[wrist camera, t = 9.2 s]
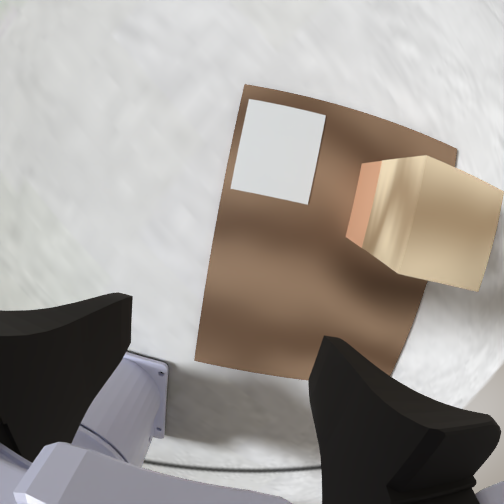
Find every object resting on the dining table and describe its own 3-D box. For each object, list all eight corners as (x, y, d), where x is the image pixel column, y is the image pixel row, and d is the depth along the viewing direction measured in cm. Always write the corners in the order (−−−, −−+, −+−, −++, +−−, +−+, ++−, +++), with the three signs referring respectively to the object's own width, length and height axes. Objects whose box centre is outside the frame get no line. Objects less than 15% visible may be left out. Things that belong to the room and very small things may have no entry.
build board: (383, 384, 23) (385, 387, 23) (195, 357, 23) (193, 361, 22) (454, 149, 18) (457, 148, 18) (244, 86, 18) (244, 83, 18)
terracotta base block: (408, 251, 20) (431, 264, 17) (345, 236, 20) (361, 248, 16) (424, 183, 19) (450, 185, 15) (361, 163, 19) (381, 160, 15)
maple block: (431, 264, 17) (478, 291, 12) (361, 247, 16) (398, 273, 12) (450, 185, 15) (503, 191, 11) (381, 160, 15) (426, 155, 10)
